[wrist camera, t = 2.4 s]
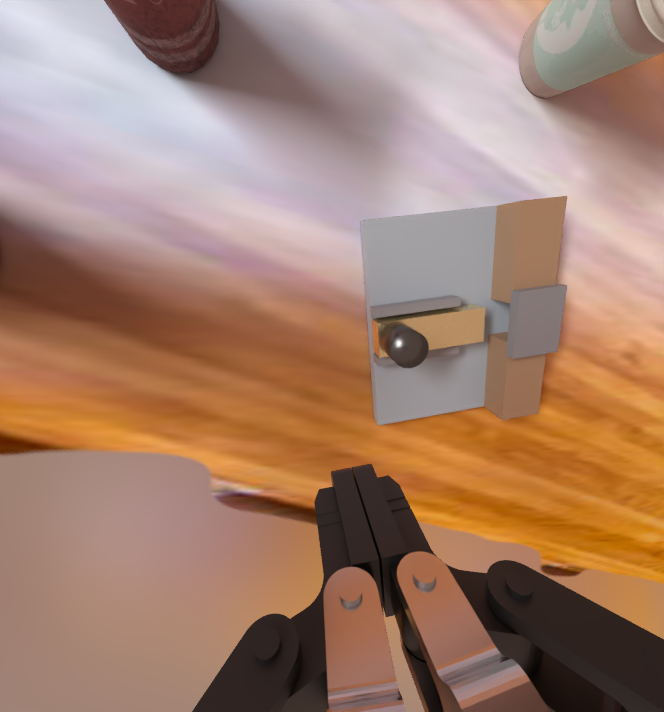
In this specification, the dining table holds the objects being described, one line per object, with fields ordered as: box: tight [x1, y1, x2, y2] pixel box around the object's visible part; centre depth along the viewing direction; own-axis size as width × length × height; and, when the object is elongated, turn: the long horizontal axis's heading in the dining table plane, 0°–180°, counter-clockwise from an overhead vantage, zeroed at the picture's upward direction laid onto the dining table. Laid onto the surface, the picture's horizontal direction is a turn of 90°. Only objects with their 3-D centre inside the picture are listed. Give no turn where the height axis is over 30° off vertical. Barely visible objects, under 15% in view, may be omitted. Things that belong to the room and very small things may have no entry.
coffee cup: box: [519, 0, 664, 98], centre depth 20 cm, size 8×8×12 cm
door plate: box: [360, 196, 567, 425], centre depth 29 cm, size 16×20×6 cm
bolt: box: [371, 304, 485, 368], centre depth 27 cm, size 10×3×6 cm, turn 96°
